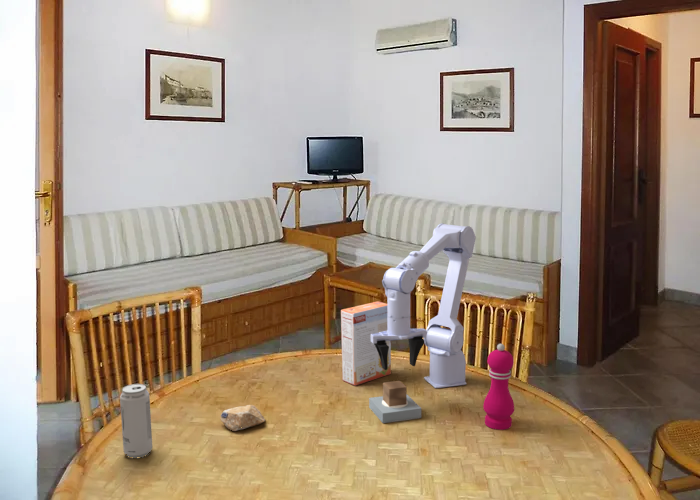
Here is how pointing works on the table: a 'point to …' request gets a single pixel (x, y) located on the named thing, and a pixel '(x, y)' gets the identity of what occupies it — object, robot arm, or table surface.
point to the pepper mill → (499, 390)
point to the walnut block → (394, 393)
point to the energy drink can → (136, 420)
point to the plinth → (394, 410)
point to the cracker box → (363, 343)
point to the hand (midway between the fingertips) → (398, 366)
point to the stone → (241, 417)
